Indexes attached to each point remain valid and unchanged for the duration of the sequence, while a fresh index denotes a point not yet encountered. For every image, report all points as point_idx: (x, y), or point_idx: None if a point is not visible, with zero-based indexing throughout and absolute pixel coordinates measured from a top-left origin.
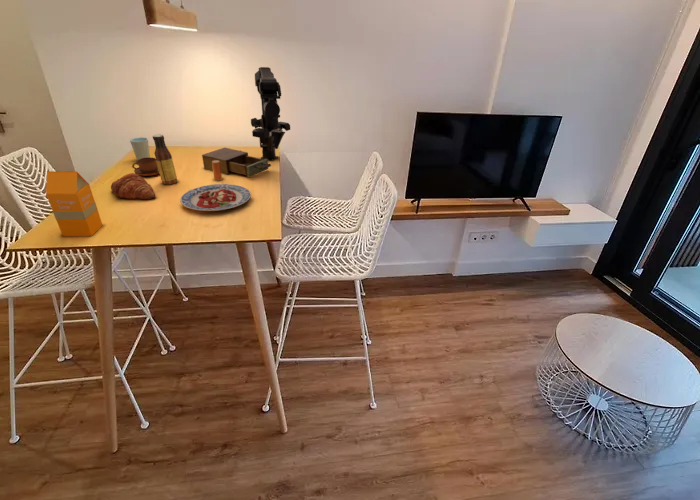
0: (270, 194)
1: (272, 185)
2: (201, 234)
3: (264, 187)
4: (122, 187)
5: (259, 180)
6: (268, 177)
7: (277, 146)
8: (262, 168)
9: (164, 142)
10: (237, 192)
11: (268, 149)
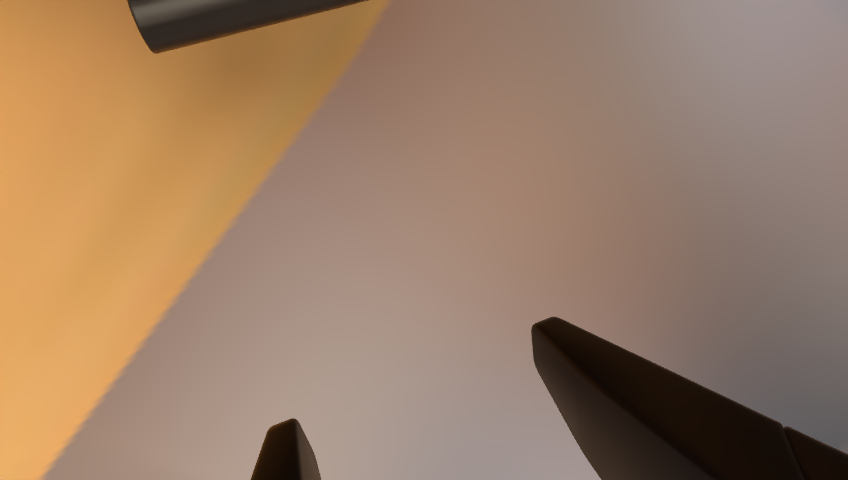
0: (8, 445)
1: (156, 274)
2: None
3: (32, 278)
4: None
5: (83, 32)
6: None
7: (573, 433)
8: (155, 51)
9: None
10: None
11: (257, 467)
